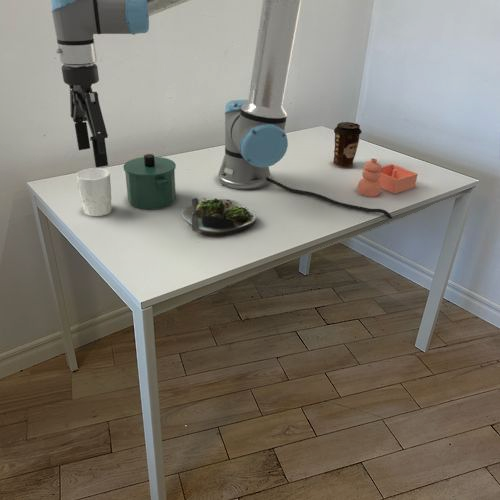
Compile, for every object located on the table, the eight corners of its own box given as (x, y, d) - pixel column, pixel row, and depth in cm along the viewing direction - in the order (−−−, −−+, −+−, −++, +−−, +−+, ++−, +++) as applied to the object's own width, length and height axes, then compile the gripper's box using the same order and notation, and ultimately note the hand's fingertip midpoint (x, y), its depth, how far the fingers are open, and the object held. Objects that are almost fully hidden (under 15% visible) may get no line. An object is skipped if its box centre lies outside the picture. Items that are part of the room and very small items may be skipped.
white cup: (76, 215, 124) (70, 178, 119) (90, 202, 131) (85, 166, 126) (106, 219, 123) (101, 181, 118) (118, 205, 130) (114, 169, 125)
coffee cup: (361, 164, 163) (367, 124, 156) (351, 171, 157) (356, 130, 150) (336, 158, 167) (341, 119, 160) (325, 165, 161) (330, 125, 154)
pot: (160, 183, 143) (158, 153, 139) (187, 207, 130) (186, 174, 126) (118, 192, 137) (114, 160, 133) (142, 217, 125) (140, 183, 120)
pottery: (389, 176, 154) (395, 145, 149) (414, 187, 147) (421, 155, 142) (348, 189, 144) (352, 156, 140) (373, 200, 138) (379, 166, 133)
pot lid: (163, 157, 138) (162, 144, 136) (184, 173, 128) (183, 159, 126) (116, 165, 131) (115, 151, 129) (135, 183, 122) (133, 168, 120)
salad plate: (165, 210, 128) (164, 194, 126) (226, 197, 136) (226, 181, 134) (199, 243, 114) (199, 225, 112) (265, 226, 122) (266, 209, 120)
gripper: (47, 56, 117) (63, 144, 127) (78, 76, 98) (93, 177, 109) (79, 54, 120) (92, 140, 131) (115, 72, 102) (126, 170, 113)
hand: (92, 157), depth 120 cm, fingers open, 13 cm apart
